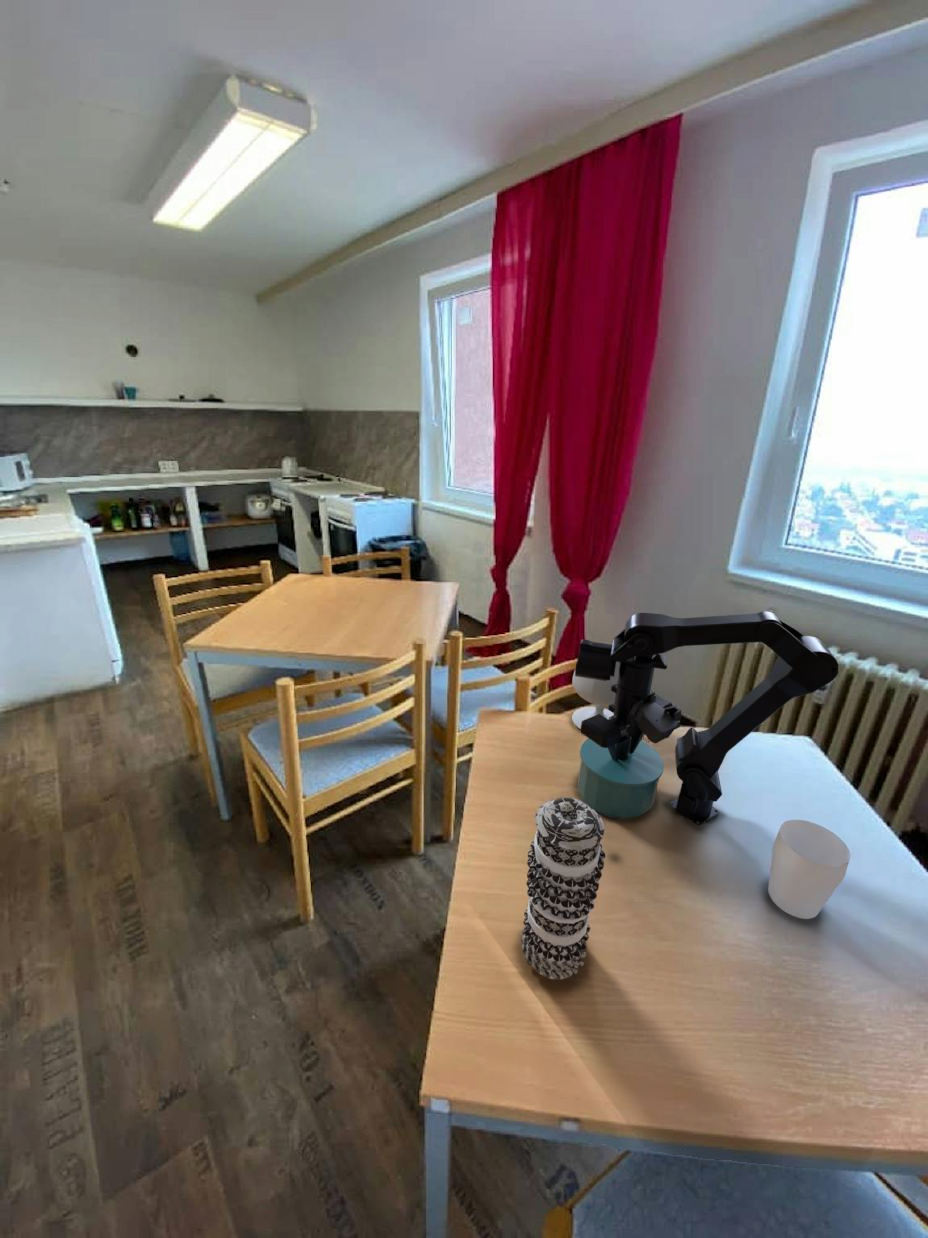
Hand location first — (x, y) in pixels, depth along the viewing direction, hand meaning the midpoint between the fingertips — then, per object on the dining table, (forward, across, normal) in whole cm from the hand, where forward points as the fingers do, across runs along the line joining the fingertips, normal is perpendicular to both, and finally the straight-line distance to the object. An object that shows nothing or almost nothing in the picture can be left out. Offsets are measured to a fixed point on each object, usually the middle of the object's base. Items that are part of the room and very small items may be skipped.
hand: (622, 756), depth 98 cm
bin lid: (0, 0, 0) cm, 1 cm away
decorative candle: (+8, -32, -18) cm, 38 cm away
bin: (+8, 0, 0) cm, 9 cm away
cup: (+9, +5, -31) cm, 32 cm away
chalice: (+9, +14, +19) cm, 26 cm away
